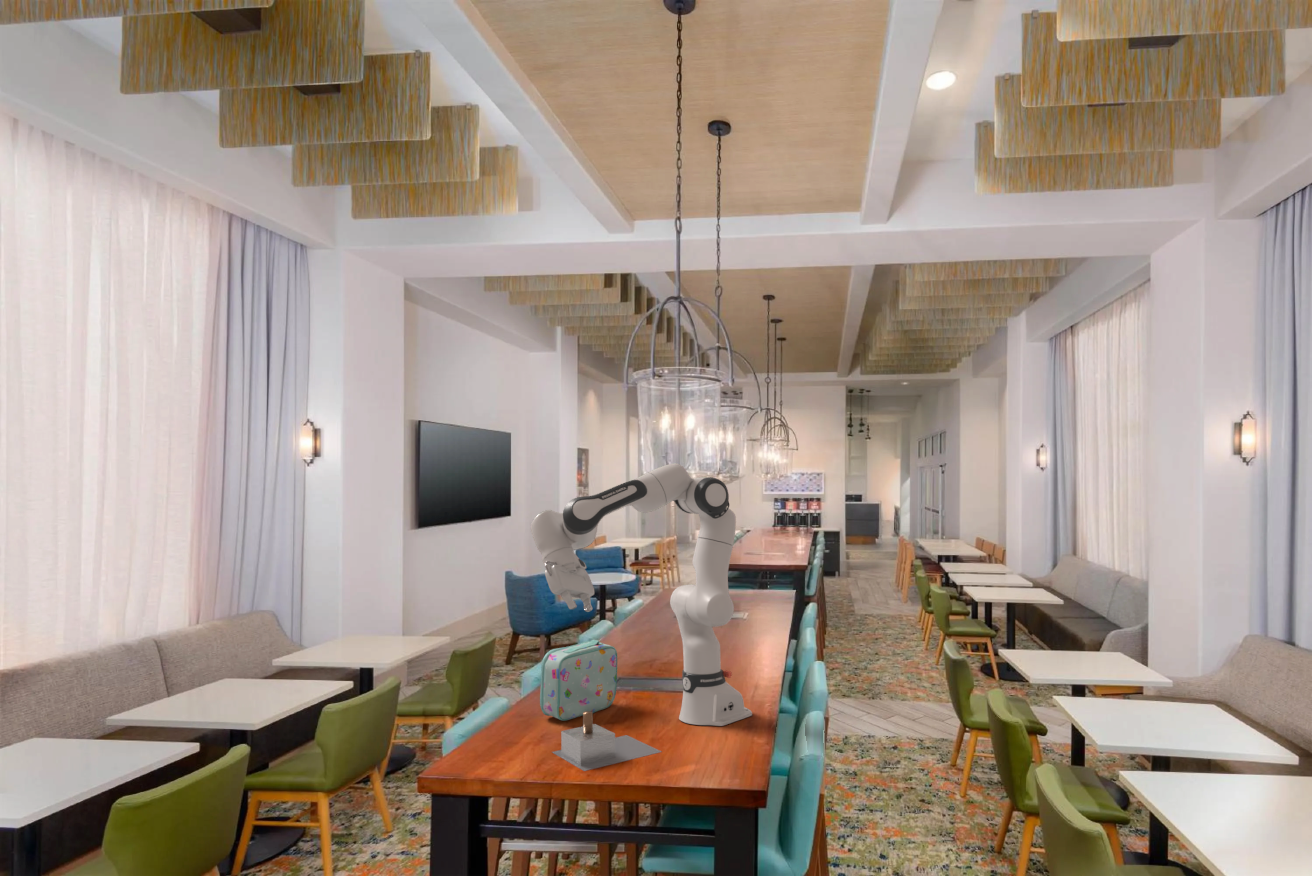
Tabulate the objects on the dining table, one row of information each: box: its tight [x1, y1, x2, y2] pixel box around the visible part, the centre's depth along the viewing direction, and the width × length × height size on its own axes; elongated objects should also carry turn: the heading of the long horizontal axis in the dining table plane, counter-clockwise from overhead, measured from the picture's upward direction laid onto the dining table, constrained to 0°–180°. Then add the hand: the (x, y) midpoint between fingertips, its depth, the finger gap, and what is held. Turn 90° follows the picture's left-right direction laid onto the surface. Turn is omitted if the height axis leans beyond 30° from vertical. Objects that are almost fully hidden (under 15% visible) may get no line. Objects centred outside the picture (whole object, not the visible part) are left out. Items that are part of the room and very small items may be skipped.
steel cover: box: [560, 711, 616, 766], centre depth 204 cm, size 10×10×11 cm
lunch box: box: [539, 639, 618, 721], centre depth 248 cm, size 27×10×21 cm, turn 141°
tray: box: [551, 734, 663, 772], centre depth 207 cm, size 23×17×4 cm
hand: (581, 609), depth 216 cm, fingers open, 8 cm apart
